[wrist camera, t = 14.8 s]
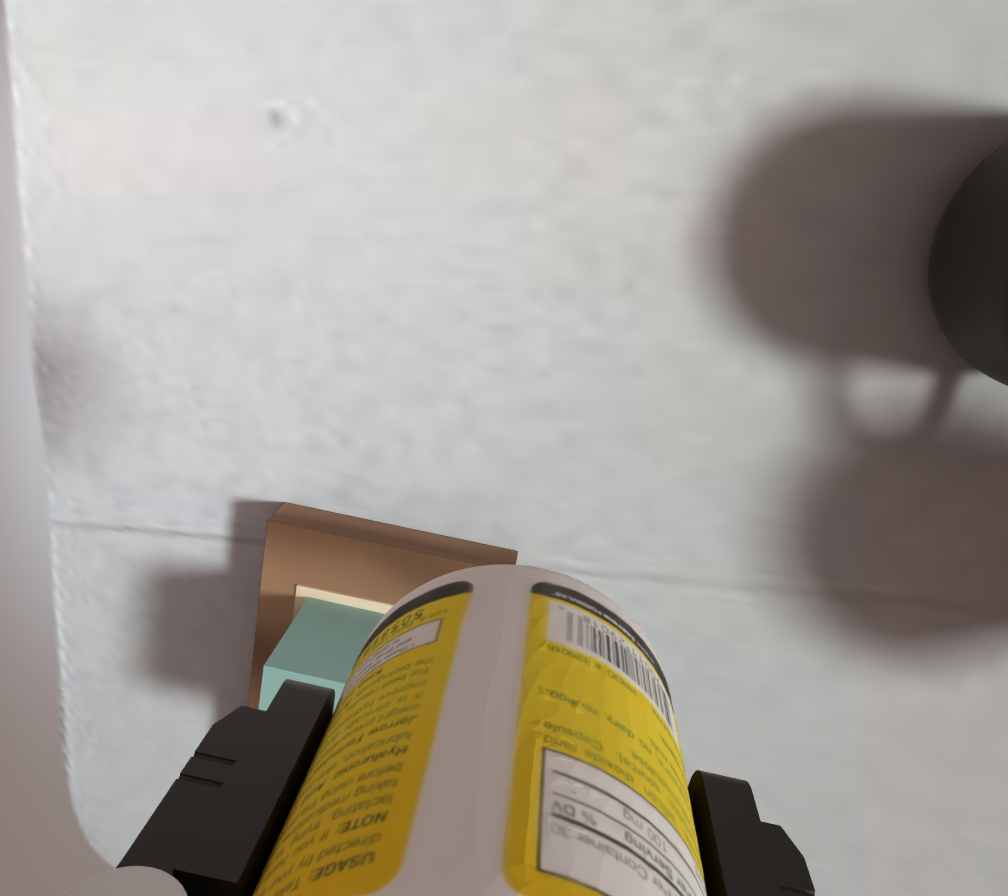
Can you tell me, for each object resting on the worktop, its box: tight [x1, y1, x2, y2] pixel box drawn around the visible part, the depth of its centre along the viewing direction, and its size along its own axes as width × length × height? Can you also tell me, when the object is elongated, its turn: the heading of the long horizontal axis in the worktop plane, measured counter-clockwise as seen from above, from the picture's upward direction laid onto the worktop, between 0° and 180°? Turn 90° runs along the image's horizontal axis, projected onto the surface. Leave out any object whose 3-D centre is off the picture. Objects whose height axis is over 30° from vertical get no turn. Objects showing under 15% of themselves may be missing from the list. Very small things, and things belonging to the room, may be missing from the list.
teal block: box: [259, 597, 385, 713], centre depth 31 cm, size 6×6×5 cm
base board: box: [248, 503, 518, 709], centre depth 35 cm, size 12×10×2 cm
